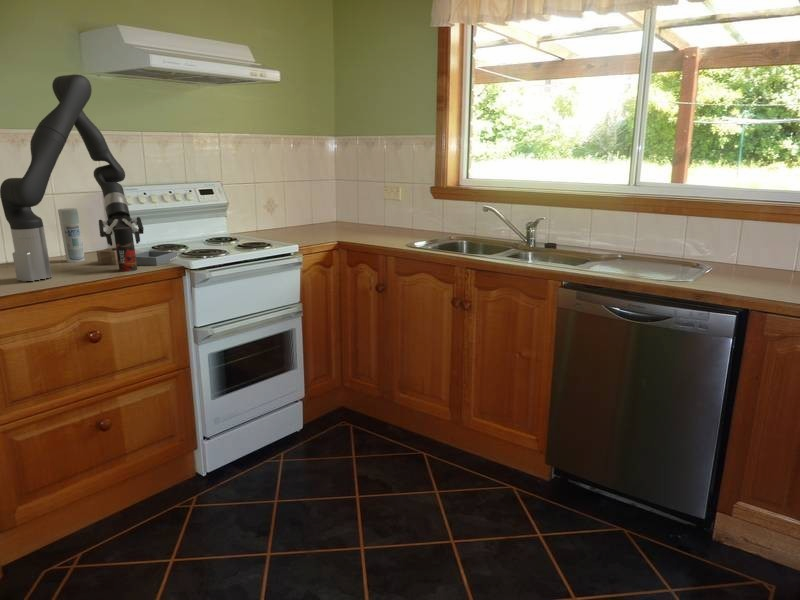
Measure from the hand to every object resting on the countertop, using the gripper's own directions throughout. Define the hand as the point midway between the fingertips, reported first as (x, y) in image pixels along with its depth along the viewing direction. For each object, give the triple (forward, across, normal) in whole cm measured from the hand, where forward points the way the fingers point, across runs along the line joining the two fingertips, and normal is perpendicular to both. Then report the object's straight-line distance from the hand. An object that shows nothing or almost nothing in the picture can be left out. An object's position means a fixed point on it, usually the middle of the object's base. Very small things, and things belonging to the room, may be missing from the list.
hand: (124, 243), depth 208 cm
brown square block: (-6, -3, +19) cm, 20 cm away
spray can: (-14, -16, +28) cm, 35 cm away
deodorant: (+8, 0, +6) cm, 10 cm away
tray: (-1, +10, +14) cm, 17 cm away
